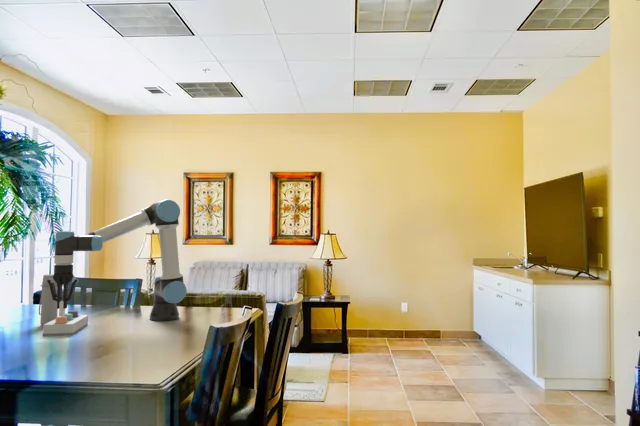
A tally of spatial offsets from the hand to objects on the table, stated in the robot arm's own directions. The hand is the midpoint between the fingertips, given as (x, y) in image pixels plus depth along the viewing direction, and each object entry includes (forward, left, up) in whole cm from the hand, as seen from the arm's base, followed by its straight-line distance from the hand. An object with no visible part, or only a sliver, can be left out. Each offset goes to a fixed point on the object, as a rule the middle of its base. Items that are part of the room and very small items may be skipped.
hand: (61, 315), depth 197 cm
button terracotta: (0, 0, -6) cm, 6 cm away
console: (0, -7, -8) cm, 11 cm away
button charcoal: (0, -15, -6) cm, 16 cm away
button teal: (0, -7, -6) cm, 9 cm away
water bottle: (+14, -22, -9) cm, 28 cm away
